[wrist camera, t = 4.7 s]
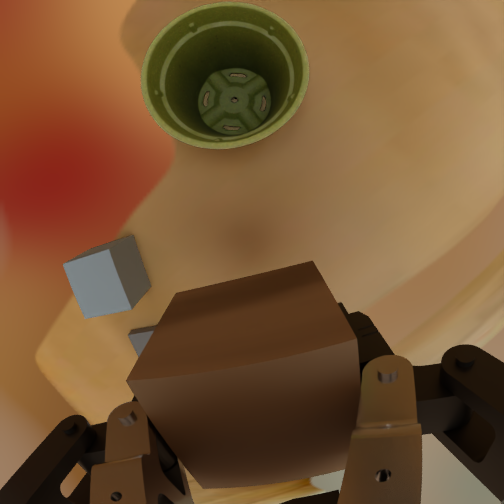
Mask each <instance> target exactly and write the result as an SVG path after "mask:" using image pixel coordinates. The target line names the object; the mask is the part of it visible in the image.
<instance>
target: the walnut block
mask: <svg viewBox="0 0 504 504" xmlns="http://www.w3.org/2000/svg"><path fill="white" fill-rule="evenodd" d="M126 382H127V383H128V385H129V387H130V389H131V390H132V392H133V393H134V395H135V397H136V398H137V400H138V402H139V403H140V405H141V406H142V408H143V409H144V411H145V412H146V414H147V416H148V417H149V419H150V420H151V421H152V423H153V424H154V426H155V427H156V429H157V430H158V432H159V433H160V434H161V436H162V437H163V439H164V440H165V441H166V443H167V444H168V446H169V447H170V448H171V450H172V451H173V452H174V454H175V455H176V456H177V457H178V459H179V460H180V461H181V463H182V464H183V465H184V466H185V468H186V469H187V470H188V471H189V472H190V474H191V475H192V476H193V477H194V478H195V480H196V481H197V482H198V483H199V484H200V485H201V487H202V488H203V489H209V488H233V487H246V486H257V485H265V484H273V483H280V482H287V481H293V480H299V479H304V478H309V477H314V476H319V475H323V474H328V473H331V472H336V471H340V470H344V469H345V468H346V463H347V458H348V452H349V447H350V441H351V436H352V431H353V428H356V423H357V416H358V409H359V401H360V392H361V383H360V368H359V355H358V343H357V338H356V336H355V334H354V332H353V330H352V328H351V327H350V325H349V323H348V321H347V319H346V318H345V316H344V314H343V312H342V311H341V309H340V307H339V305H338V303H337V302H336V300H335V298H334V296H333V295H332V293H331V291H330V290H329V288H328V286H327V284H326V283H325V281H324V279H323V277H322V276H321V274H320V272H319V271H318V269H317V267H316V266H315V264H314V262H313V261H309V262H305V263H301V264H297V265H293V266H289V267H285V268H281V269H277V270H273V271H269V272H265V273H261V274H256V275H252V276H248V277H244V278H240V279H235V280H231V281H227V282H223V283H218V284H214V285H210V286H205V287H201V288H197V289H192V290H188V291H183V292H179V293H176V294H175V296H174V297H173V299H172V301H171V302H170V304H169V306H168V307H167V309H166V311H165V313H164V314H163V316H162V318H161V319H160V321H159V323H158V325H157V326H156V328H155V330H154V332H153V333H152V335H151V337H150V339H149V340H148V342H147V344H146V346H145V347H144V349H143V351H142V353H141V355H140V356H139V358H138V360H137V362H136V364H135V365H134V367H133V369H132V371H131V373H130V374H129V376H128V378H127V380H126Z"/></svg>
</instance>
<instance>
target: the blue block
mask: <svg viewBox="0 0 504 504" xmlns="http://www.w3.org/2000/svg"><path fill="white" fill-rule="evenodd" d="M63 266H64V269H65V272H66V274H67V277H68V279H69V282H70V285H71V287H72V290H73V292H74V294H75V297H76V299H77V302H78V304H79V306H80V308H81V311H82V313H83V315H84V317H85V319H87V318H92V317H97V316H102V315H107V314H112V313H117V312H122V311H127V310H132V309H133V308H134V306H135V305H136V304H137V303H138V301H139V300H140V299H141V298H142V297H143V295H144V294H145V293H146V292H147V291H148V289H149V288H150V287H151V284H150V281H149V279H148V276H147V273H146V270H145V268H144V265H143V262H142V259H141V256H140V253H139V250H138V248H137V245H136V242H135V239H134V235H131V236H128V237H125V238H121V239H118V240H115V241H112V242H109V243H106V244H103V245H100V246H97V247H94V248H91V249H89V250H87V251H86V252H84V253H82V254H80V255H78V256H76V257H75V258H73V259H71V260H69V261H68V262H66V263H64V264H63Z"/></svg>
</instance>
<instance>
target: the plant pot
mask: <svg viewBox="0 0 504 504" xmlns="http://www.w3.org/2000/svg"><path fill="white" fill-rule="evenodd" d="M231 73H243V74H245V75H246V77H245V78H243V77H234V76H233V77H231V76H230V74H231ZM308 81H309V61H308V56H307V53H306V50H305V48H304V45H303V43H302V41H301V39H300V38H299V36H298V35H297V33H296V32H295V31H294V29H293V28H292V27H291V26H290V25H289V24H288V23H287V22H286V21H284V20H283V19H282V18H280V17H279V16H277V15H276V14H274V13H272V12H270V11H268V10H266V9H264V8H261V7H259V6H256V5H252V4H248V3H240V2H218V3H213V4H207V5H203V6H200V7H197V8H194V9H192V10H190V11H188V12H186V13H184V14H182V15H180V16H179V17H177V18H175V19H174V20H173V21H171V22H170V23H169V24H168V25H167V26H166V27H164V28H163V30H161V32H160V33H159V34H158V35H157V36H156V38H155V39H154V40H153V42H152V44H151V45H150V47H149V49H148V51H147V53H146V56H145V58H144V62H143V66H142V72H141V89H142V95H143V99H144V102H145V105H146V107H147V109H148V111H149V113H150V114H151V116H152V117H153V119H154V120H155V122H156V123H157V124H158V125H159V126H160V127H161V128H162V129H163V130H164V131H165V132H166V133H168V134H169V135H170V136H172V137H174V138H175V139H177V140H179V141H181V142H183V143H186V144H189V145H192V146H195V147H200V148H205V149H231V148H237V147H242V146H245V145H249V144H252V143H255V142H257V141H259V140H261V139H264V138H265V137H267V136H269V135H271V134H272V133H274V132H275V131H277V130H278V129H279V128H281V127H282V126H283V125H284V124H285V123H286V122H287V121H288V120H289V119H290V118H291V117H292V116H293V115H294V114H295V112H296V111H297V109H298V108H299V106H300V104H301V102H302V100H303V98H304V96H305V93H306V90H307V86H308ZM207 91H209V92H210V93H209V97H208V105H207V106H206V107H205V106H204V104H203V100H204V95H205V93H206V92H207ZM262 96H264V97H265V98H266V107H265V110H264V111H260V108H261V105H262V99H263V98H262ZM233 97H236V98H237V99H238V101H237V102H236V103H233V102H231V99H232V98H233ZM224 125H226V126H234V127H236V126H239V127H240V128H239V129H238V130H226V129H225V128H223V126H224Z"/></svg>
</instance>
